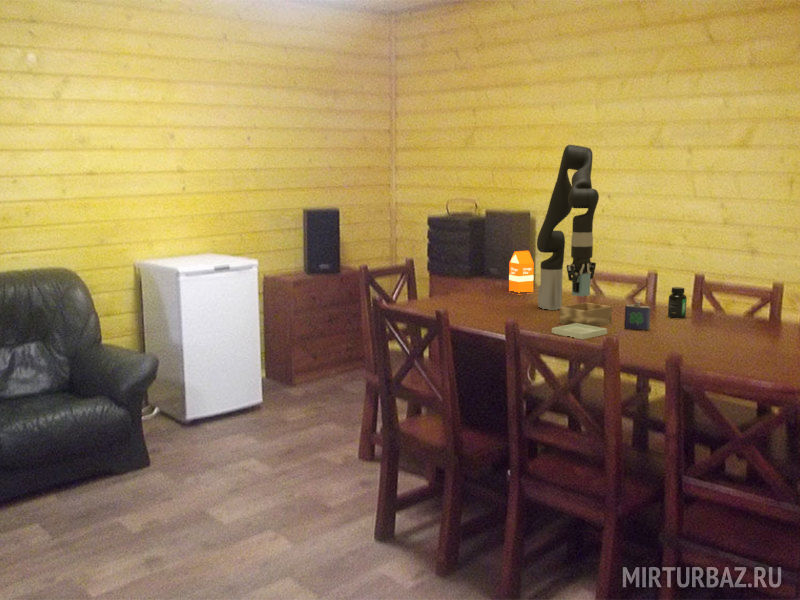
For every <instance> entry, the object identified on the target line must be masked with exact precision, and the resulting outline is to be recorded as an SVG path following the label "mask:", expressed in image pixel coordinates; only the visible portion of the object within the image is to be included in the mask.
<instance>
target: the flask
mask: <svg viewBox="0 0 800 600" xmlns="http://www.w3.org/2000/svg"><path fill="white" fill-rule="evenodd" d="M651 309H652V308H651V306H646V305H645V306H643V305H641V301H635V304H631V303H629V304H626V305H625V307H624V322H623V323H624V325H623V326H624V327H623V329H624V330H628V329H630V330H631V331H639V330H645V331H644V332H649V331H650V329H651V328H650V325H651V324H650V323H651ZM648 330H649V331H648Z"/></svg>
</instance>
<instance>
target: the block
mask: <svg viewBox="0 0 800 600" xmlns="http://www.w3.org/2000/svg"><path fill="white" fill-rule="evenodd" d="M590 275H591V272H590V273H584V272H583V273H582V274H581V276H580V280H579V293H575V292H573V282H572V281H571V296H577V297H586V296H590V295H591V279H590ZM576 279H577V276H576Z"/></svg>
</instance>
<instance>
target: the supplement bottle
mask: <svg viewBox="0 0 800 600" xmlns="http://www.w3.org/2000/svg"><path fill="white" fill-rule="evenodd" d="M687 298H688V297H687V295H686V294H685V287H681V286H673V287H671V294H669V295H668V303H667V307H668V308H667V317H668V318H669V317H670V319H672V318H684V319H686V316H687Z"/></svg>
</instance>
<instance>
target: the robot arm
mask: <svg viewBox="0 0 800 600" xmlns="http://www.w3.org/2000/svg"><path fill="white" fill-rule="evenodd" d="M593 156H594V155H593V151H592V149H591V148H589V147H587V146H581V145H575V144H568V145H566V146H565V148H564V150H563V152H562V155H561V160H560V165H559V170H558V174H557V178H556V182H555V185H554V188H553V190H552V194H551V197H550V199H549V203H548V204H549V205H548V208H547V211H546V215H545V218H544V220H543V222H542V226H541V227H540V230H539V233H538V235H537V239H536V248H537V250H538V252H539V253H545V254H548V253H549V254H550V253H551V254H552V255H551V256H549V257H548V258H546V259H544V260H542V261H541V262H540V276H539V277H540V279H539V283H540V285H538V287H537V289H538V290H537V308H538V307H540V308H542V309H541V310H544V309H548V310H547V311H558V309H559V310H560V307H563V305H562V304H563V303H562V302H563V274H564V273H563V270H564V269H563V267H564V266H563V265H564V261H565V260H564V259H565V258H564V257H565V245H566V237H565V234H564V232H563V231H562V230H555V228H556V227H557V226H558V225H559V224H561V222H563V220H564V219H566V218H567V217H568V216H569V215H570V213H571V211H572V208H573V209H587V211H586V212H584V213H583V214H578V215H575V216H573V218H572V234H571V240H570V241H571V242H570V243H571V244H570V245H571V246H570V248H571V249H570V254H571V255H570V257H571V258H572V262H571V264H567V265H566V273H567V278H568V281H571V283H572V282H573V292H575V293H579V280H580V276H581V274H582V273H583V272H584V273H590V280H592V279H594V276H595V275H594V274H595V271H596V265H597V263H596V262H592V260H591V259H592V258H593V254H594V253H593V252H594V251H593V246H594V235H593V234H594V233H593V229H594V228H593V227H594V225H593V223H594V217H595V212H596V208H597V206H598V203H599V200H600V196H599V192H598V191H597V189H595V188H593V184H592V178H591V177H592V168H593ZM569 170H573V171H574V170H575V172H574V173H573V175H572V177H571V181H570V178H569V174H568V173H569ZM576 276H577V279H576ZM540 308H539V309H540Z"/></svg>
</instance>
